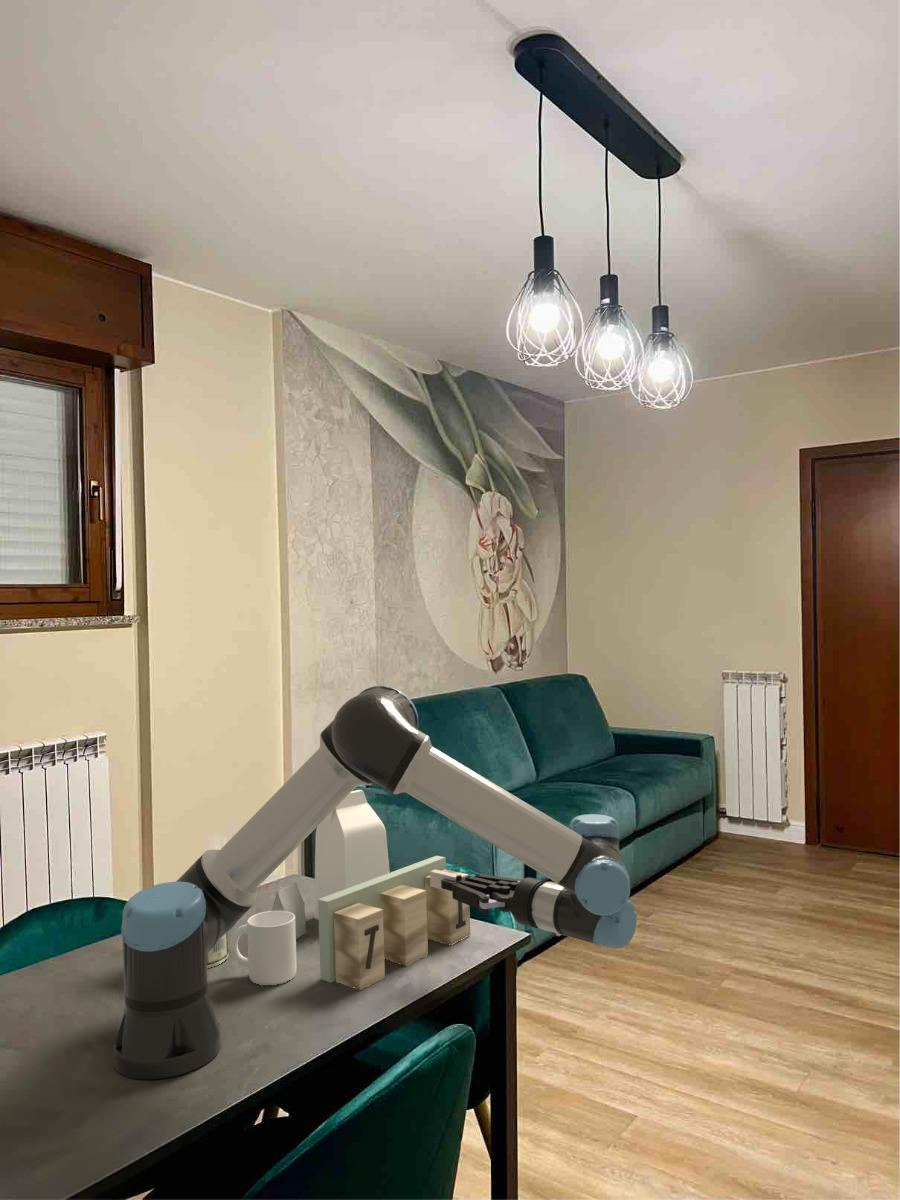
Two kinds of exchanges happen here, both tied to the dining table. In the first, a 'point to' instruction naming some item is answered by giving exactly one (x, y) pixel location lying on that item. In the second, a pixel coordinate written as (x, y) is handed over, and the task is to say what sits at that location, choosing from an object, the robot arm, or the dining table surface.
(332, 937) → the rack board
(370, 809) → the milk
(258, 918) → the mug
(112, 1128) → the dining table surface
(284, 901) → the white juice carton
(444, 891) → the numbered block 1
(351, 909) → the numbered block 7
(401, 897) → the plain block
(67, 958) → the dining table surface
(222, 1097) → the dining table surface
